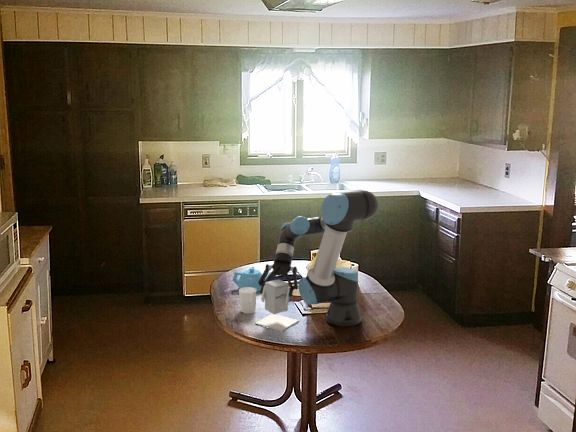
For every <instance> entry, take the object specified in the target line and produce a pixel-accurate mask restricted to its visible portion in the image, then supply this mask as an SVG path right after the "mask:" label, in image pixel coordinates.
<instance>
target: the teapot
mask: <svg viewBox="0 0 576 432" xmlns="http://www.w3.org/2000/svg"><path fill="white" fill-rule="evenodd" d="M262 274H263V273H262V272H261V271H260V270H258V269H255V267H254V266H251V267H249V268H248V269H245V270H244V271H243V272H241V271H236V270H235V272H234V275H233V277H232V280H231V281H232V282H233V283H234V284H235V285H236V286H237V288H238V290H239V289H240V288H244V287H252V288H255V289H256V293H261V287H262V286H259V284H258V282H259V280H260V278H261V276H262ZM270 274H271V272H269V273H268V275H267V277H268V276H269V275H270ZM238 276H239V278H238ZM267 277H266V278H267ZM265 280H266V279H265ZM265 280H264V281H265Z"/></svg>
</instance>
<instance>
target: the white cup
mask: <svg viewBox="0 0 576 432" xmlns="http://www.w3.org/2000/svg"><path fill="white" fill-rule="evenodd" d="M238 299H239V310H240V312H241V313H242V312H243V313H242V314H252V313H255V312H256V305H257V292H256V289H255V288H252V287H244V288H240V289H239V288H238Z"/></svg>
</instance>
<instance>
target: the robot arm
mask: <svg viewBox="0 0 576 432" xmlns="http://www.w3.org/2000/svg"><path fill="white" fill-rule="evenodd" d="M379 208H380V207H379V201H378V198H377V196H376V195H375V194H373V192H371V191H368V190H353V191H345V192H340V191H339V192H334V193H330V194H328V195H326V196H325V198H323V201H322V203H321V207H320V211H321V213H320V214H321V215H319V216H316V217H305V216H302V215H299V216H296V217H295V218H294V219H292V220H291V221H290V222H284V223H283V224H282V225H281V228H280V230H279V231H280V232H279V237H278V242H277V248H276V251H275V254H274V255H275V256H274V261H273V264H271V265H270V264H268V263H267V264H265V268H264V271H263V273H262V276H261V278H260V280H259V282H258V284H259V286H262V287H261V291H260V294H261V298H260V300H261V302H262V303H265V282H269V281H273V280H274V278H276V276H282V277H285V279H286V281H287V283H288V291H287V296H286V301H285V302H286V304H288V305H289V303H290V298H292V297H293V293H294V290H298V292H299V295H300V298H301V300H302V301H303V303H305V304H306V305H309V306H311V305H318V304H323V303H328V302H330V303H329V306H328V309H327V311H326V314H325V320H326V322H327V323H329V324H330V325H333V326H336V327H337V326H338V327H353V326H356V325H359V324H360V323H362V315H361V312H360V308H359V307H360V306H359V305H358V292H359V274H358V273H359V272H357V271H356V270H355V269H352V268H349V267H345V266H337V263H338V260H339V257H340V254H341V252H342V249H343V245H344V242H345V239H346V237H347V234H348V233H350V232H351V231H353V229H354V226H355V223H356V222H360V221H361V222H362V221H367V220H369V219H372V218H373V217H375V216H376V214H377V213H378V210H379ZM318 234H319V235H321V234H323V235H322V238H321V242H320V244H319V247H318V250H317V251H318V252H317V254H316V257H315V260H314V264H313V267H311V268H309V269H308V271H307V274H306V277H304V276H303V277H301V278H300V279H299V280H298V278H297V277H298V276H297V272H298V268H297V266H292V261H293V256H294V251H295V247H296V246H295V245H296V242H297V240H299V239H300V238H301V237H305V236H306V237H307V236H313V235H318ZM271 270H272V271H271ZM270 271H271V272H270ZM290 271H291V272H292V278H293V282H292V280H291V279H290V276H289V272H290ZM269 273H271V274H270V275H269V276H268V274H269ZM267 276H268V277H267ZM266 277H267V278H266ZM265 279H266V280H265ZM264 280H265V281H264Z"/></svg>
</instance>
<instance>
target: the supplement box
mask: <svg viewBox="0 0 576 432" xmlns="http://www.w3.org/2000/svg"><path fill="white" fill-rule="evenodd" d="M288 288H289V283H288V282H286V281H284V280H282V279H278V278H277V279H272V280H271V281H269V282H265V300H264V310H266V311H267V312H269V313H270V314H277V315H278V314H280V313H285V312H288V311H289V310H288V309H289V303H288V304H286V302H285V301H286V296H287V291H288Z"/></svg>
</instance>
